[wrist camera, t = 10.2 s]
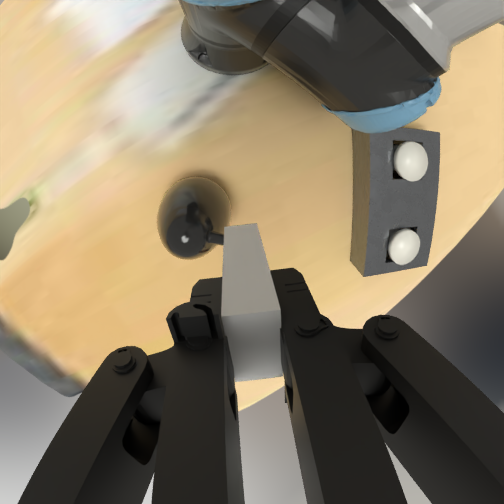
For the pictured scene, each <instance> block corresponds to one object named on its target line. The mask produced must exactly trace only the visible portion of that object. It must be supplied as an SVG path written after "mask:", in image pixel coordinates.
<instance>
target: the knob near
mask: <svg viewBox="0 0 504 504" xmlns="http://www.w3.org/2000/svg"><path fill="white" fill-rule="evenodd" d="M427 167H428V157H427V153H426V151H425V149H424V148H423V147H422V146H421V145H420V144H418V143H416V142H410V141H406V142H403V143H401V144H400V145H399V144H393V170H395V171H397V173H398V175H399V176H400V177H402V178H403V179H406V180H408V181H418V180H419V179H421V178H422V177H423V176H424V174H425V173H426V170H427Z"/></svg>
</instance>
